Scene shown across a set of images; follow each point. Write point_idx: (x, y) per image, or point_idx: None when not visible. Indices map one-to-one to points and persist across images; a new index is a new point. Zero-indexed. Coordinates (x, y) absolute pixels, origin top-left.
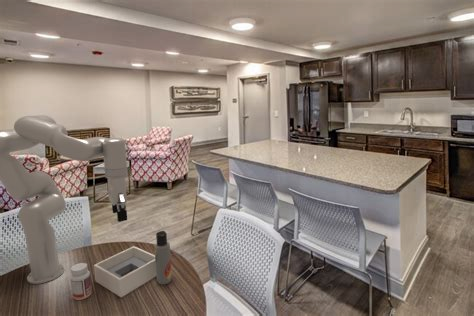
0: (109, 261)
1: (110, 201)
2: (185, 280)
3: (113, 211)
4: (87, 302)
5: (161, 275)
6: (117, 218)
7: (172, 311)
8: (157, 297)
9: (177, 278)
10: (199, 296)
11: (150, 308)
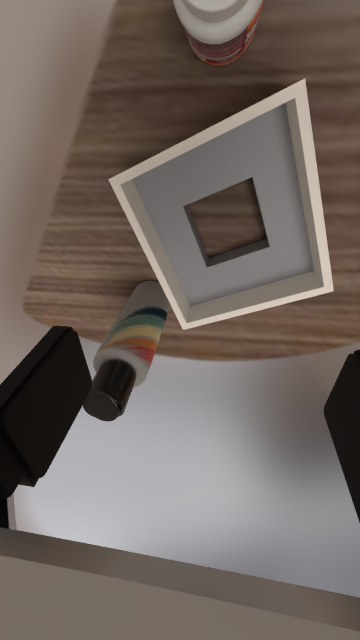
0: (302, 169)
1: (130, 620)
2: None
3: (356, 367)
4: (159, 38)
5: (128, 299)
6: (50, 344)
7: (32, 270)
8: (91, 259)
9: None
10: None
11: (55, 232)
